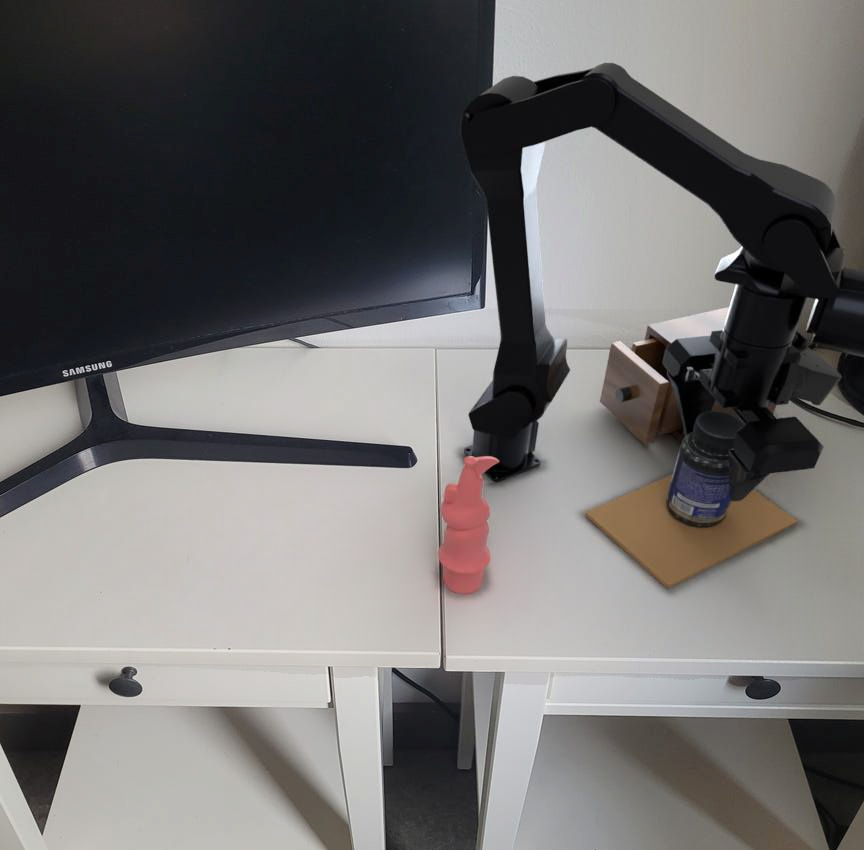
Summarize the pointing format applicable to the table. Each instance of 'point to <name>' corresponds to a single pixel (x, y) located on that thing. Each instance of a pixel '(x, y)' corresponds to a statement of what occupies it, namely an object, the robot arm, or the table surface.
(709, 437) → the pill bottle
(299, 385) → the table surface
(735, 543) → the mat
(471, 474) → the figurine
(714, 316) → the cabinet
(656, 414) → the drawer
